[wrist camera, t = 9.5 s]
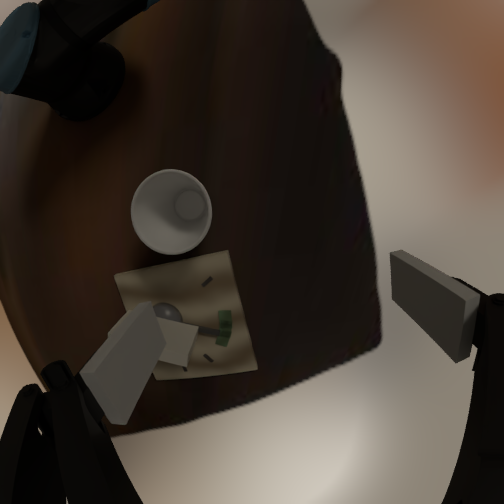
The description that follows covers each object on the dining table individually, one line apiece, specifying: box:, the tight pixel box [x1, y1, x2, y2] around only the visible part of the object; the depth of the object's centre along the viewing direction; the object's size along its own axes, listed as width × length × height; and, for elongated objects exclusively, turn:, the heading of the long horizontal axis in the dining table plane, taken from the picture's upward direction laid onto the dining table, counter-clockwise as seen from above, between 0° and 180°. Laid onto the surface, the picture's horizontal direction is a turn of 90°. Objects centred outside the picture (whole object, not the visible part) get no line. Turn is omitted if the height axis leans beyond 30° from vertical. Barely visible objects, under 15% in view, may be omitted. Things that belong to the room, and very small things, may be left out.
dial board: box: [114, 250, 258, 380], centre depth 46 cm, size 22×20×1 cm
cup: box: [131, 169, 212, 255], centre depth 36 cm, size 10×10×11 cm
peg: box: [108, 302, 220, 367], centre depth 40 cm, size 15×6×10 cm, turn 79°
